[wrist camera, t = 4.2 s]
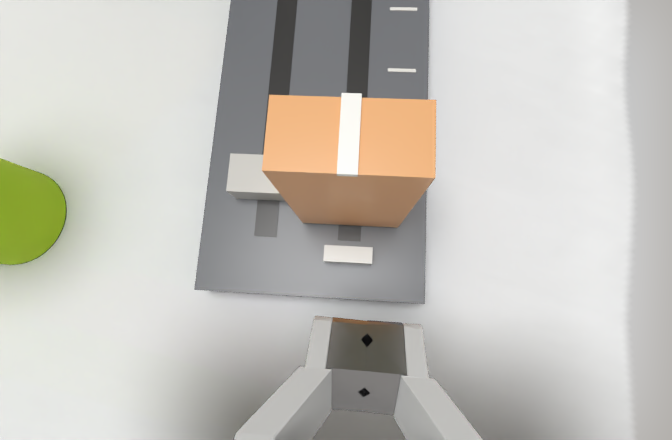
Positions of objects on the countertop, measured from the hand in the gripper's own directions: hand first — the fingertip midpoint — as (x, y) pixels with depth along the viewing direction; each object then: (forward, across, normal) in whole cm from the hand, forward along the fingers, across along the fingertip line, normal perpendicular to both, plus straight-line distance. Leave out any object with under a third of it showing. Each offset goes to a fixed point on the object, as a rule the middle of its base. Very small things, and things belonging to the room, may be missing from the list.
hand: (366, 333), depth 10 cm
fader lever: (+10, +1, +2) cm, 10 cm away
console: (+15, +3, -1) cm, 16 cm away
